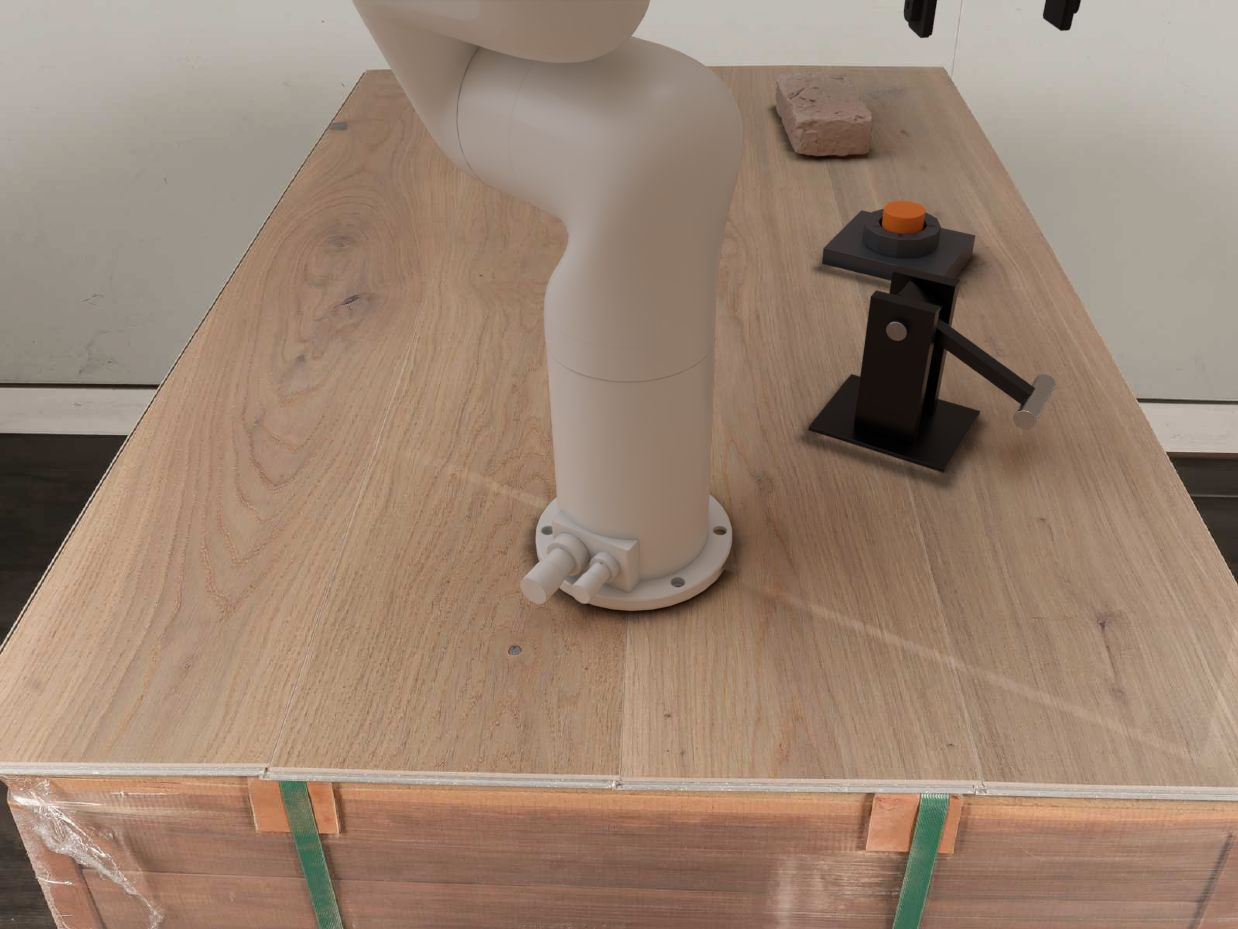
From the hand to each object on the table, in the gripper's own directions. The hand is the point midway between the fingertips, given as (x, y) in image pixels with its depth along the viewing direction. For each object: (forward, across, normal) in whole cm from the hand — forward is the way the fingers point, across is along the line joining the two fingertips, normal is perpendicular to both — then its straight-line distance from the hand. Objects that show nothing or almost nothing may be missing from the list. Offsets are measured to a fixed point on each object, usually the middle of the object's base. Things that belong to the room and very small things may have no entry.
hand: (987, 28), depth 77 cm
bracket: (+25, -7, -12) cm, 29 cm away
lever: (+18, -4, -15) cm, 23 cm away
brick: (+25, +2, +45) cm, 51 cm away
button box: (+24, +1, +13) cm, 28 cm away
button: (+21, +1, +13) cm, 25 cm away
